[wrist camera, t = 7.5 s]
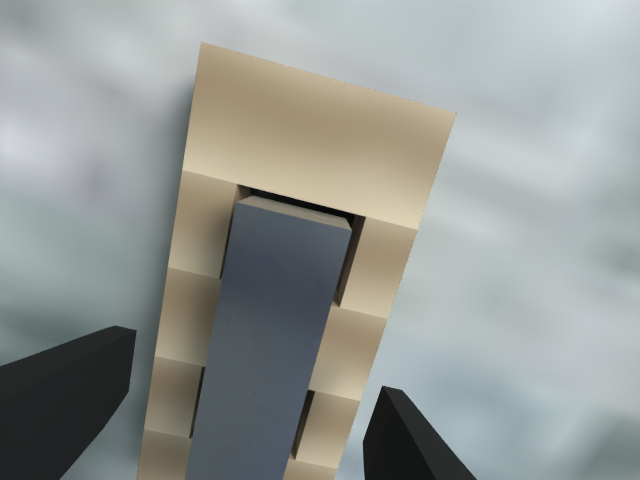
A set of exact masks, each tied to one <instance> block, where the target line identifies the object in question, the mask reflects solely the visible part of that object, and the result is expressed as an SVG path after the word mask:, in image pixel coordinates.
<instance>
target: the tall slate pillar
mask: <svg viewBox="0 0 640 480" xmlns="http://www.w3.org/2000/svg"><path fill="white" fill-rule="evenodd" d="M351 233H352V230H351V228H350V226H349V224H348V222H347V220H346V218H342V217H338V216H334V215H330V214H326V213H322V212H318V211H314V210H310V209H306V208H302V207H298V206H294V205H290V204H286V203H282V202H278V201H274V200H270V199H266V198H262V197H258V196H254V195H253V196H251V197H248V198H245V199H243V200H240V201H238V202H236V206H235V211H234V217H233V222H232V227H231V233H230V238H229V243H228V249H227V254H226V260H225V265H224V270H223V276H222V281H221V286H220V292H219V297H218V303H217V308H216V313H215V319H214V324H213V329H212V335H211V340H210V345H209V351H208V356H207V362H206V367H205V372H204V378H203V383H202V388H201V394H200V399H199V404H198V410H197V415H196V421H195V426H194V431H193V437H192V442H191V447H190V453H189V458H188V464H187V469H186V474H185V480H283V477H284V473H285V469H286V466H287V462H288V459H289V455H290V451H291V448H292V444H293V441H294V437H295V434H296V430H297V426H298V423H299V419H300V416H301V412H302V408H303V405H304V401H305V398H306V394H307V391H308V387H309V383H310V380H311V376H312V373H313V369H314V365H315V362H316V358H317V355H318V351H319V347H320V344H321V340H322V337H323V333H324V330H325V326H326V322H327V319H328V315H329V312H330V308H331V304H332V301H333V297H334V294H335V290H336V287H337V283H338V279H339V276H340V272H341V269H342V265H343V261H344V258H345V254H346V251H347V247H348V244H349V240H350V236H351Z"/></svg>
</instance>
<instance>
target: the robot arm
mask: <svg viewBox="0 0 640 480" xmlns="http://www.w3.org/2000/svg"><path fill="white" fill-rule="evenodd" d="M136 331H137V330H132V329H128V328H123V327H119V326H112V327H109V328H105V329H103V330H100V331H97V332H94V333H91V334H88V335H86V336H83V337H80V338H78V339H75V340H72V341H70V342H67V343H64V344H61V345H59V346H56V347H53V348H51V349H48V350H45V351H42V352H40V353H37V354H34V355H31V356H29V357H26V358H23V359H21V360H18V361H15V362H12V363H9V364H6V365H3V366H0V480H59V479H60V478H61V477H62V476H63V475H64V474H65V473H66V471H67V470H68V469H69V468H70V467H71V466H72V464H73V463H74V462H75V461H76V460H77V459H78V457H79V456H80V455H81V454H82V453H83V452H84V450H85V449H86V448H87V447H88V446H89V445H90V443H91V442H92V441H93V440H94V439H95V438H96V436H97V435H98V434H99V433H100V432H101V430H102V429H103V428H104V426H105V425H106V424H107V422H108V421H109V419H110V418H111V417H112V415H113V414H114V412H115V411H116V410H117V408H118V407H119V405H120V404H121V402H122V401H123V399H124V398H125V396H126V395H127V393H128V391H129V384H130V376H131V369H132V361H133V354H134V346H135V338H136ZM363 457H364V474H365V480H477V479H476V478H475V477H474V476H473V475H472V474H471V472H470V471H469V470H468V469H467V468H466V467H465V465H464V464H463V463H462V462H461V461H460V460H459V458H458V457H457V456H456V455H455V454H454V452H453V451H452V450H451V449H450V448H449V446H448V445H447V444H446V443H445V442H444V440H443V439H442V438H441V437H440V436H439V434H438V433H437V432H436V431H435V429H434V428H433V427H432V426H431V424H430V423H429V422H428V421H427V419H426V418H425V417H424V416H423V415H422V413H421V412H420V411H419V410H418V408H417V407H416V406H415V405H414V403H413V402H412V401H411V400H410V399H409V397H408V396H407V395H406V394H405V393H404V392H403V391H402V390H399V389H395V388H390V387H386V386H382V388H381V391H380V394H379V397H378V399H377V402H376V405H375V408H374V411H373V414H372V417H371V420H370V423H369V425H368V428H367V431H366V434H365V437H364V440H363Z"/></svg>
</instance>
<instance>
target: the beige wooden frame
mask: <svg viewBox="0 0 640 480" xmlns="http://www.w3.org/2000/svg"><path fill="white" fill-rule="evenodd" d="M455 116H456V113H454V112H450V111H446V110H443V109H439V108H436V107H432V106H428V105H425V104H421V103H418V102H414V101H411V100H407V99H403V98H400V97H396V96H393V95H389V94H386V93H382V92H378V91H375V90H371V89H368V88H364V87H361V86H357V85H353V84H350V83H346V82H343V81H339V80H336V79H332V78H328V77H325V76H321V75H318V74H314V73H310V72H307V71H303V70H300V69H296V68H293V67H289V66H285V65H282V64H278V63H275V62H271V61H268V60H264V59H260V58H257V57H253V56H250V55H246V54H243V53H239V52H235V51H232V50H228V49H225V48H221V47H218V46H214V45H210V44H207V43H203V42H201V46H200V53H199V60H198V66H197V73H196V80H195V87H194V93H193V100H192V107H191V114H190V120H189V127H188V134H187V141H186V147H185V154H184V161H183V168H182V175H181V181H180V188H179V195H178V202H177V208H176V215H175V222H174V229H173V235H172V242H171V249H170V256H169V262H168V269H167V276H166V283H165V289H164V296H163V303H162V310H161V316H160V323H159V330H158V337H157V344H156V350H155V357H154V364H153V371H152V377H151V384H150V391H149V398H148V404H147V411H146V418H145V425H144V431H143V438H142V445H141V452H140V458H139V465H138V472H137V479H136V480H185V474H186V469H187V464H188V458H189V453H190V447H191V442H192V437H193V431H194V426H195V421H196V415H197V410H198V404H199V399H200V394H201V388H202V383H203V378H204V372H205V367H206V362H207V356H208V351H209V345H210V340H211V335H212V329H213V324H214V319H215V313H216V308H217V303H218V297H219V292H220V286H221V281H222V276H223V270H224V265H225V260H226V254H227V249H228V243H229V238H230V233H231V227H232V222H233V217H234V211H235V206H236V202H238V201H240V200H243V199H245V198H248V197H250V195H251V190H252V188H256V189H260V190H264V191H268V192H272V193H275V194H279V195H283V196H287V197H291V198H295V199H299V200H303V201H307V202H311V203H315V204H319V205H322V206H326V207H330V208H334V209H338V210H342V211H346V212H350V213H354V214H355V218H354V221H353V225H352V229H351V230H352V233H351V236H350V240H349V244H348V247H347V251H346V254H345V258H344V261H343V265H342V269H341V272H340V276H339V279H338V283H337V287H336V290H335V294H334V297H333V301H332V304H331V308H330V312H329V315H328V319H327V322H326V326H325V330H324V333H323V337H322V340H321V344H320V347H319V351H318V355H317V358H316V362H315V365H314V369H313V373H312V376H311V380H310V383H309V387H308V391H307V394H306V398H305V401H304V405H303V408H302V412H301V416H300V419H299V423H298V426H297V430H296V434H295V437H294V441H293V444H292V448H291V451H290V455H289V459H288V462H287V466H286V469H285V473H284V477H283V480H334V478H335V475H336V472H337V469H338V466H339V463H340V460H341V457H342V454H343V451H344V448H345V445H346V442H347V439H348V436H349V433H350V430H351V427H352V424H353V421H354V418H355V415H356V412H357V409H358V406H359V403H360V400H361V397H362V394H363V391H364V388H365V385H366V382H367V379H368V376H369V373H370V370H371V367H372V364H373V361H374V358H375V355H376V352H377V349H378V347H379V344H380V341H381V338H382V335H383V332H384V329H385V326H386V323H387V320H388V317H389V314H390V311H391V308H392V305H393V302H394V299H395V296H396V293H397V290H398V287H399V284H400V281H401V278H402V275H403V272H404V269H405V266H406V263H407V260H408V257H409V254H410V251H411V248H412V245H413V242H414V239H415V236H416V233H417V230H418V227H419V224H420V221H421V218H422V215H423V212H424V209H425V206H426V203H427V200H428V197H429V194H430V191H431V188H432V185H433V182H434V179H435V176H436V173H437V170H438V167H439V164H440V161H441V158H442V155H443V152H444V149H445V146H446V143H447V140H448V137H449V134H450V131H451V128H452V125H453V122H454V119H455Z"/></svg>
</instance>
